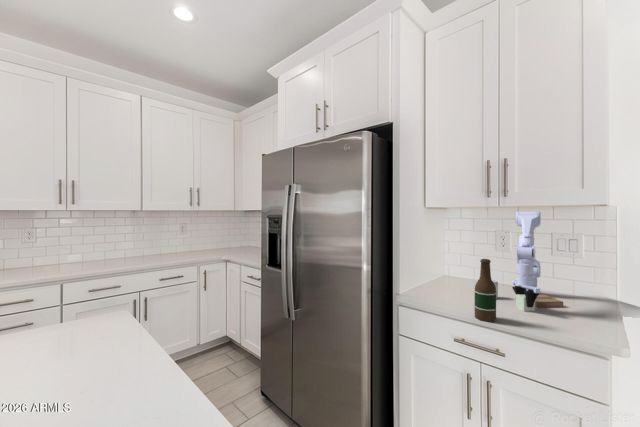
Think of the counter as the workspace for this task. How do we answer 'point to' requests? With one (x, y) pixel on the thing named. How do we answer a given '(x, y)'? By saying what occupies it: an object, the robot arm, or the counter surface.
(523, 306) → the sage block
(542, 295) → the walnut block
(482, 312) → the beer bottle
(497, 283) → the medicine box
